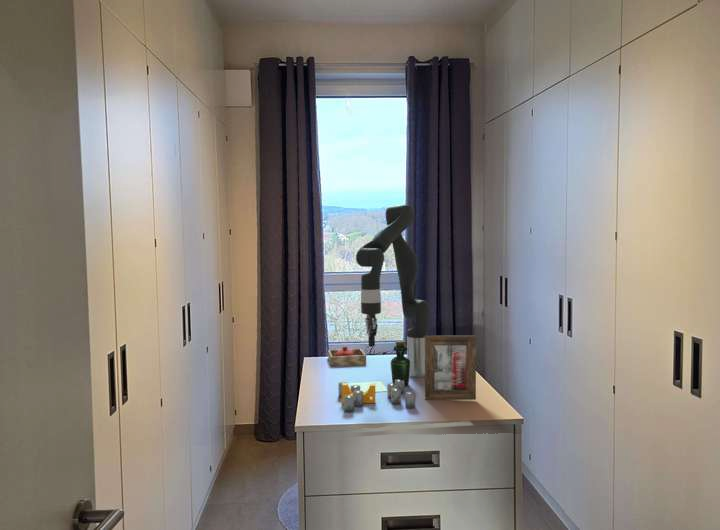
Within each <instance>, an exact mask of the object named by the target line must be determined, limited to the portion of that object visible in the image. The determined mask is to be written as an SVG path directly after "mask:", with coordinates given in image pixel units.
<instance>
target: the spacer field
mask: <svg viewBox="0 0 720 530" xmlns="http://www.w3.org/2000/svg"><path fill="white" fill-rule="evenodd" d="M343 383H348V382H346V381H341V382H338V384H337V385H338V389H337V390H338V391H337V392H338V398H341V399H342V384H343ZM386 389H387V391H386V393H387V395H386V396H387V397H386V398H387V399H389V400H391V402H390V403H391V404H392V405H393V406H395V405H396V406H398V405H401V404H402V395H404V396H405V397H404V401H405V403H404V407H405V408H407V409H409V410H410V409H411V410H412V409H416V392H414V391H406V392H405V387H404V380H403V379H396V380H395V383H393V382H389V383H387V386H386ZM351 391H352V392H353V396H352V395H346V396H344V404H343V412H344V413H353V412H355V408H362V407H364V403H363V391H360V386H359V385H352V386H351Z"/></svg>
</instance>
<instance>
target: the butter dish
mask: <svg viewBox="0 0 720 530" xmlns="http://www.w3.org/2000/svg"><path fill="white" fill-rule="evenodd" d="M339 350H340V351H338V352H337V353H336V356H355V354H354V351H353V350H349V348H348V346H345V345H344V346H342V349H339Z"/></svg>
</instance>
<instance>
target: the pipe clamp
mask: <svg viewBox="0 0 720 530" xmlns="http://www.w3.org/2000/svg"><path fill="white" fill-rule="evenodd" d="M348 383H349V382H347V383H343V384H342V398H341V405H344V396H346V395H352V396H353V392H352V391H351V390H350V388H349V385H348ZM365 403H366V404H367V403H368V404H374V403H375V404H376V392H375V383H370V387H369V389H368V390H367V391H366V392H365V393H363V404H365Z"/></svg>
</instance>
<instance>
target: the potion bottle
mask: <svg viewBox="0 0 720 530" xmlns="http://www.w3.org/2000/svg"><path fill="white" fill-rule="evenodd" d="M405 343H406V341H405V340H400V339H399V340H395V346H394V347H393V348H392V349H393V351H395V354H396V356H395V357H393V358H392V359H391V360H390V371H391V380H392V382H391V383H395V380H396V379H403V380H404V388H405V387H407V386H409V383H410V376H409V372H410V360H409V359H408V358H407V356H405V352H407V345H406V346H405Z"/></svg>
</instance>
